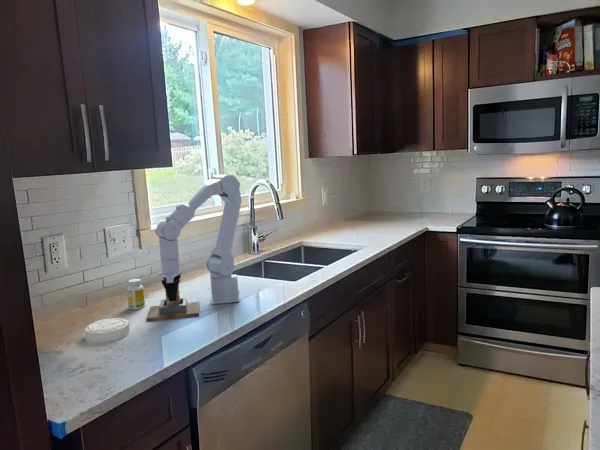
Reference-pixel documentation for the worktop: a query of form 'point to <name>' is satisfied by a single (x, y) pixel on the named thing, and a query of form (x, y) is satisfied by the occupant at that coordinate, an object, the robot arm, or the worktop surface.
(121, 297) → the worktop surface
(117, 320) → the mooncake
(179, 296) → the peg
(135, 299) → the supplement bottle
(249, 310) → the worktop surface
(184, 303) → the socket board
